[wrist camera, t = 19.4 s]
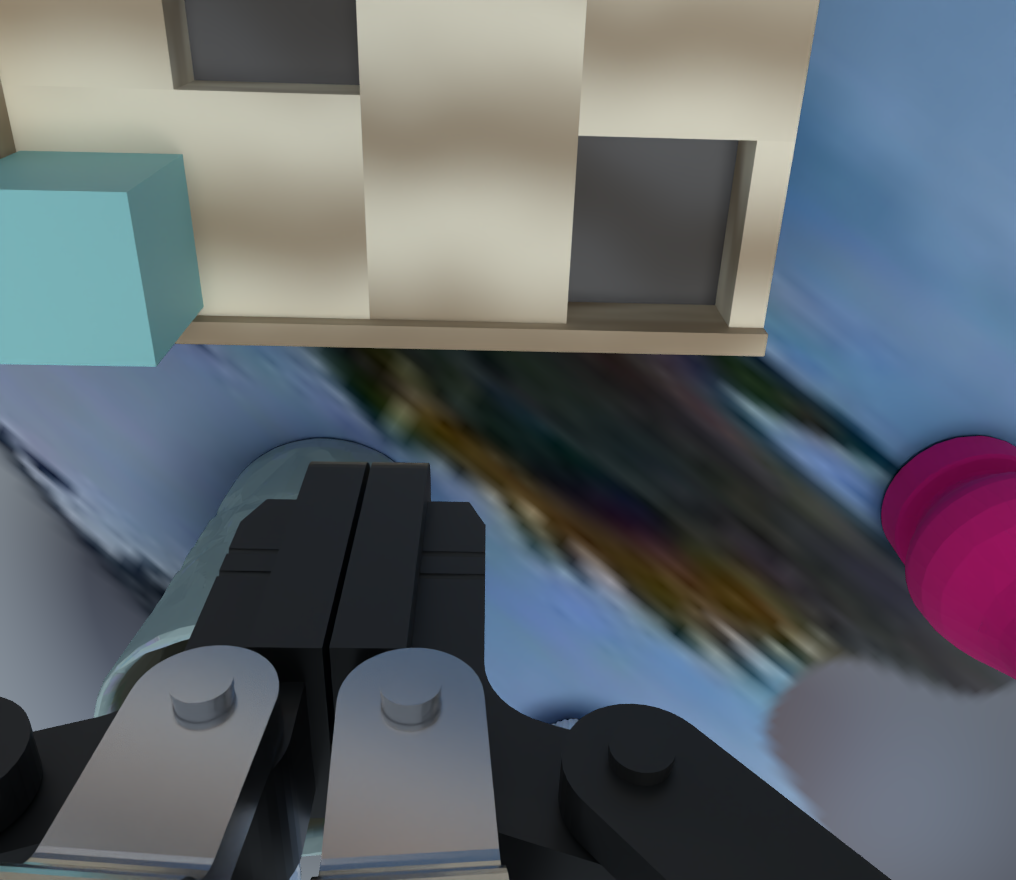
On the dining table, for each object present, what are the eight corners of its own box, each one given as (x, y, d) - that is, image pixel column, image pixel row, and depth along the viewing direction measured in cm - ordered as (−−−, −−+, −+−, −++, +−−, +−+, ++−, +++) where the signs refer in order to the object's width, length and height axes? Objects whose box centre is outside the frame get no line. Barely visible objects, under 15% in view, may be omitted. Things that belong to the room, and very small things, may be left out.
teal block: (19, 150, 29) (-67, 188, 24) (182, 154, 29) (126, 191, 24) (53, 304, 31) (-20, 363, 26) (203, 306, 31) (155, 366, 27)
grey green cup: (496, 508, 38) (498, 726, 27) (364, 661, 42) (320, 904, 31) (281, 374, 35) (190, 561, 24) (159, 552, 39) (33, 780, 28)
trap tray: (-44, -187, 26) (-136, -210, 23) (819, -155, 27) (874, -171, 23) (60, 309, 34) (4, 356, 30) (743, 324, 34) (775, 372, 30)
